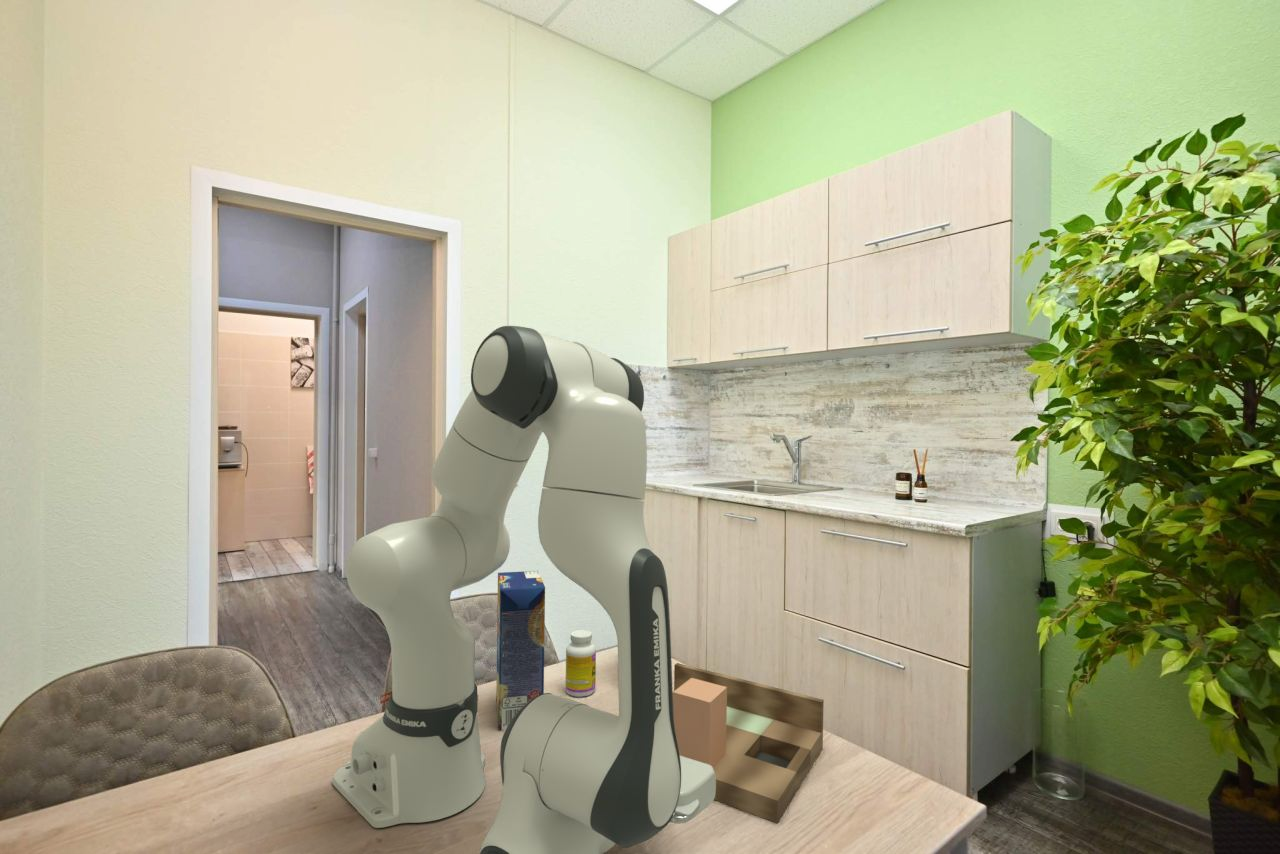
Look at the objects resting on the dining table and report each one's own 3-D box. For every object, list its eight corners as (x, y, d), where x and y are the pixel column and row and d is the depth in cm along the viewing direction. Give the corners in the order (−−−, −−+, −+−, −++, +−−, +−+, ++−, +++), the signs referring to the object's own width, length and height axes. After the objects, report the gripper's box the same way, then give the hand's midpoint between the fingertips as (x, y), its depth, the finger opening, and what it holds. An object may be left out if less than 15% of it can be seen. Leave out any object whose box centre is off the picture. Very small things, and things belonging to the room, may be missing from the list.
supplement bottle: (596, 697, 117) (597, 638, 117) (565, 698, 116) (566, 639, 116) (594, 684, 123) (595, 627, 123) (565, 685, 122) (566, 628, 122)
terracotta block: (671, 759, 91) (673, 692, 91) (690, 741, 96) (691, 677, 96) (708, 772, 88) (710, 702, 87) (725, 753, 93) (727, 687, 92)
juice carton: (543, 726, 106) (545, 587, 105) (498, 731, 104) (500, 590, 103) (536, 695, 117) (538, 570, 117) (496, 699, 115) (497, 572, 115)
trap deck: (609, 760, 95) (609, 709, 95) (676, 705, 114) (677, 662, 114) (777, 823, 81) (778, 763, 81) (822, 748, 100) (823, 699, 100)
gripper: (685, 795, 64) (736, 737, 76) (534, 743, 74) (600, 699, 86) (685, 856, 64) (737, 788, 76) (535, 795, 74) (601, 744, 86)
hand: (663, 740), depth 81 cm, fingers closed
